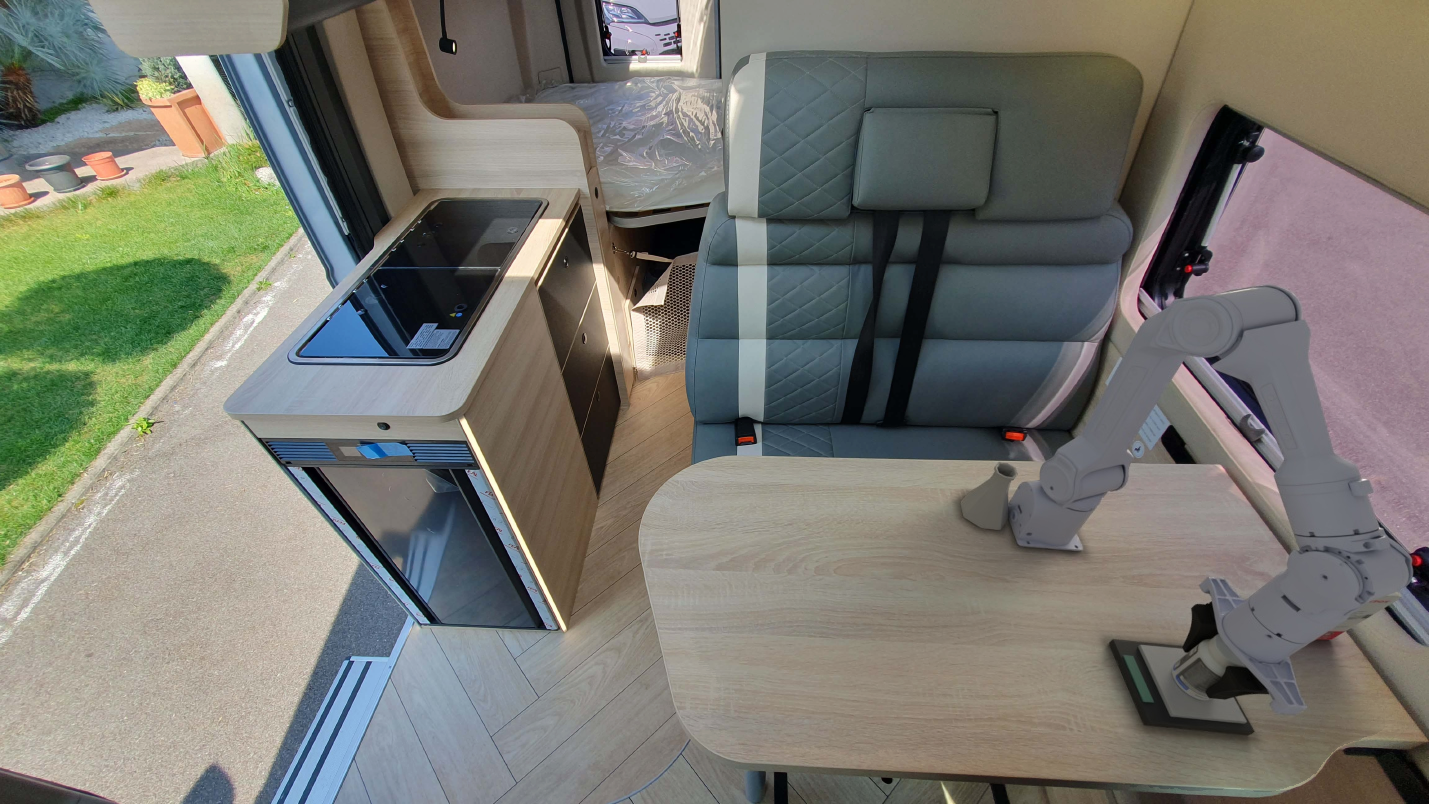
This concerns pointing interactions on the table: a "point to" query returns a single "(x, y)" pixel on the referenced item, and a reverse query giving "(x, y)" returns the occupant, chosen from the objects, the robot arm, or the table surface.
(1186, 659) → the pill bottle
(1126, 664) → the scale
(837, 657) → the table surface
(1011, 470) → the flask
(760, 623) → the table surface
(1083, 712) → the table surface
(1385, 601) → the ink box
